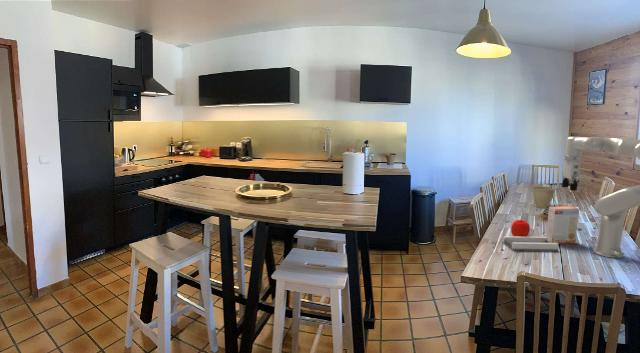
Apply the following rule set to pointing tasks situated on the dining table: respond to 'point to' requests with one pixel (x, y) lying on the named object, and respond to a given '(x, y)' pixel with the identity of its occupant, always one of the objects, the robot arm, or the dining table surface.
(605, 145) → the robot arm
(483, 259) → the dining table surface
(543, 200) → the plant pot
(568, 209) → the cracker box
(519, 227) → the apple
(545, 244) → the shallow gray tray
